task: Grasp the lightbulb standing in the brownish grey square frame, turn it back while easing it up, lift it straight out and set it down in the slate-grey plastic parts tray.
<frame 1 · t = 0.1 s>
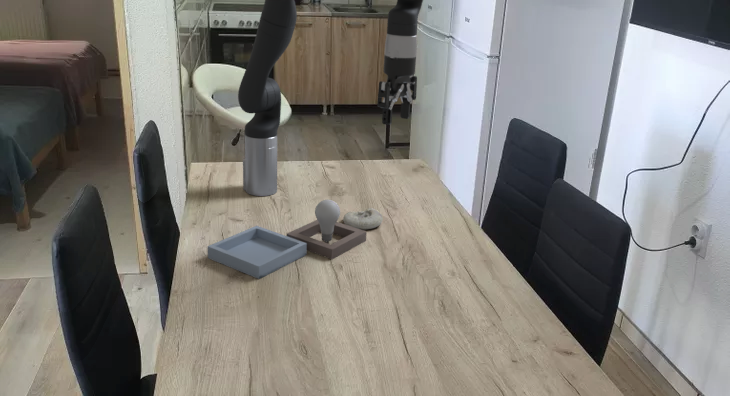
hand: (395, 121, 159), 29 cm above the table, fingers open, 8 cm apart
brownish grey square frame: (326, 241, 161), on the table
lightbulb: (326, 242, 161), resting in brownish grey square frame
fossil: (363, 224, 173), on the table
tray: (257, 256, 151), on the table
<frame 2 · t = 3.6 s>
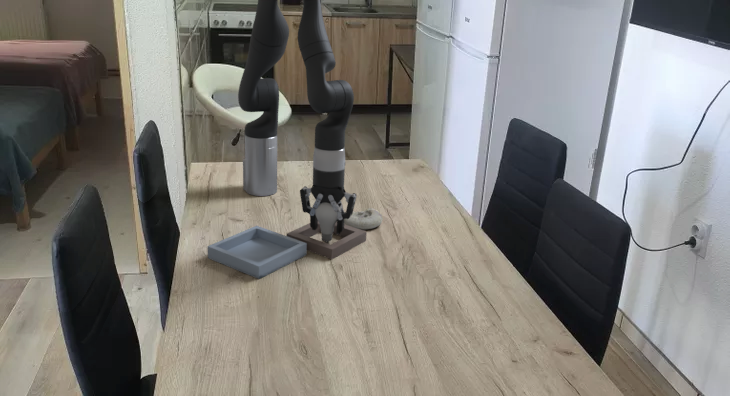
hand: (326, 230, 160), 3 cm above the table, fingers closed on lightbulb, 5 cm apart
lightbulb: (326, 242, 161), resting in brownish grey square frame, touching gripper
everything else where it was.
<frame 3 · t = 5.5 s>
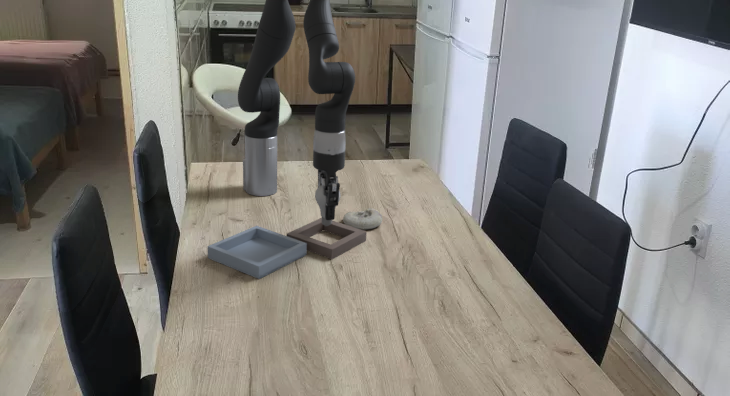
hand: (327, 214, 158), 7 cm above the table, fingers closed on lightbulb, 5 cm apart
lightbulb: (326, 226, 159), point 4 cm above the table, touching gripper
everything else where it was.
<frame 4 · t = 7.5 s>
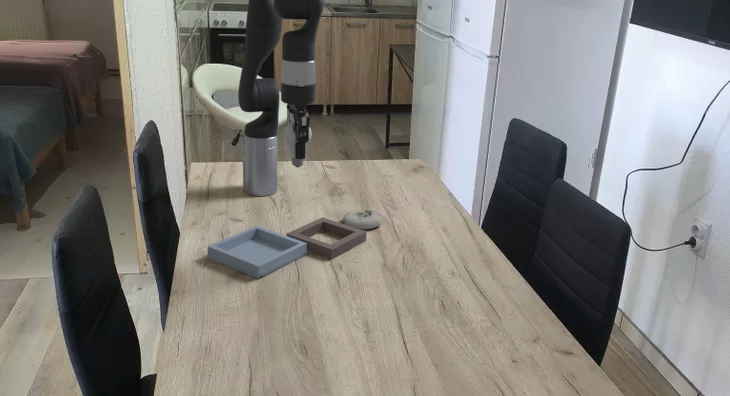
hand: (297, 154, 148), 24 cm above the table, fingers closed on lightbulb, 5 cm apart
lightbulb: (297, 168, 149), point 20 cm above the table, touching gripper
everything else where it was.
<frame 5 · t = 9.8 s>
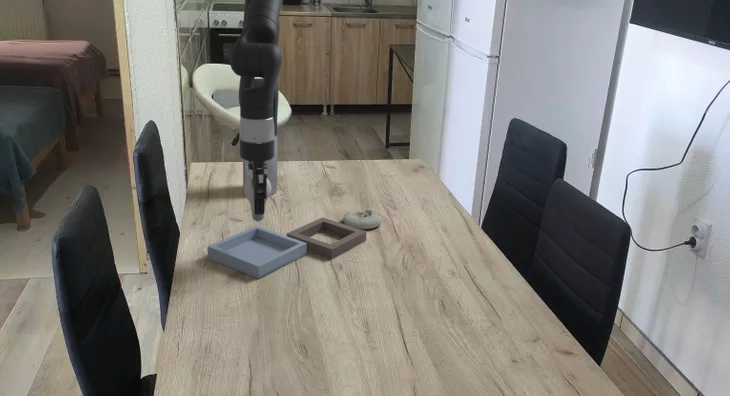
hand: (257, 208, 147), 12 cm above the table, fingers closed on lightbulb, 5 cm apart
lightbulb: (258, 221, 148), point 9 cm above the table, touching gripper
everything else where it was.
when the fingers open (5 cm above the table, at t = 11.8 s): lightbulb drops 2 cm, resting on tray.
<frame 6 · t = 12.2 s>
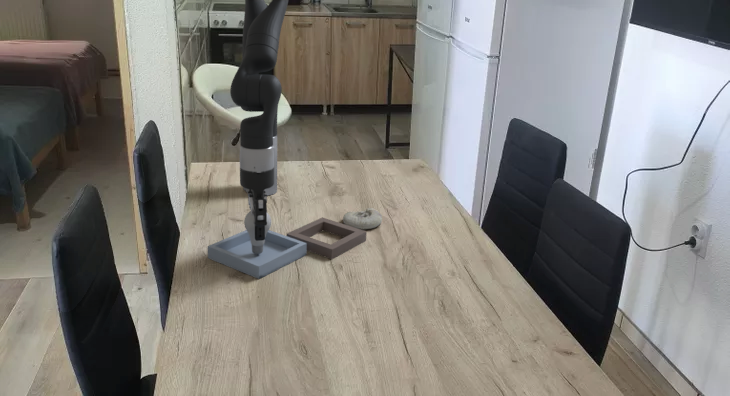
hand: (257, 232, 149), 6 cm above the table, fingers open, 8 cm apart
lightbulb: (257, 255, 151), resting on tray
everything else where it was.
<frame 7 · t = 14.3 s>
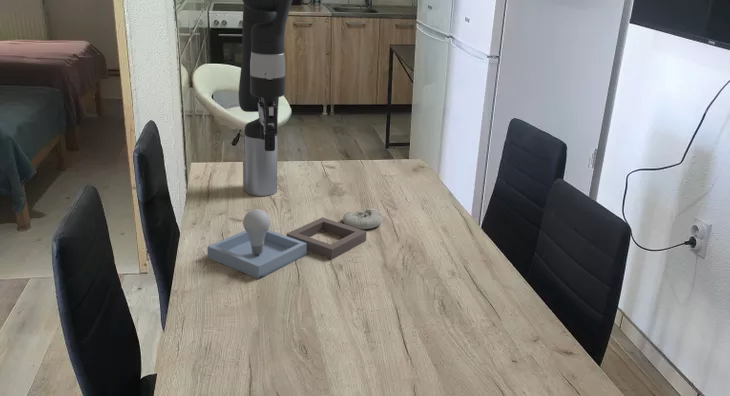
hand: (267, 144, 147), 26 cm above the table, fingers open, 8 cm apart
nothing on the table moved.
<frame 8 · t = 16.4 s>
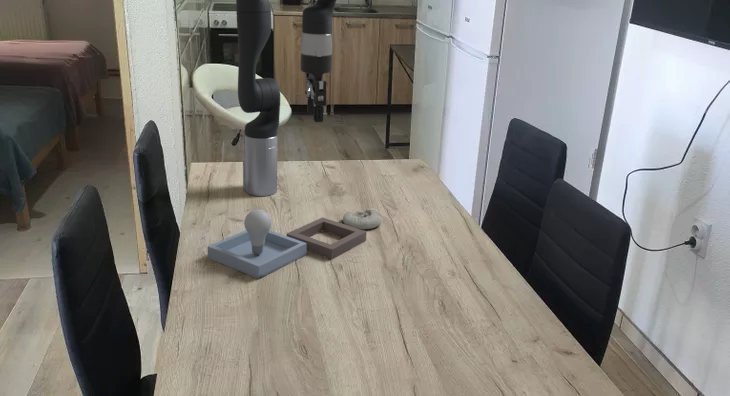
hand: (314, 117, 163), 28 cm above the table, fingers open, 8 cm apart
nothing on the table moved.
at the end: lightbulb inside the target area on the tray (0.2 cm from its centre), point 0.4 cm above the tray's base; the gripper is holding nothing; lightbulb moved 18.6 cm from its start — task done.
